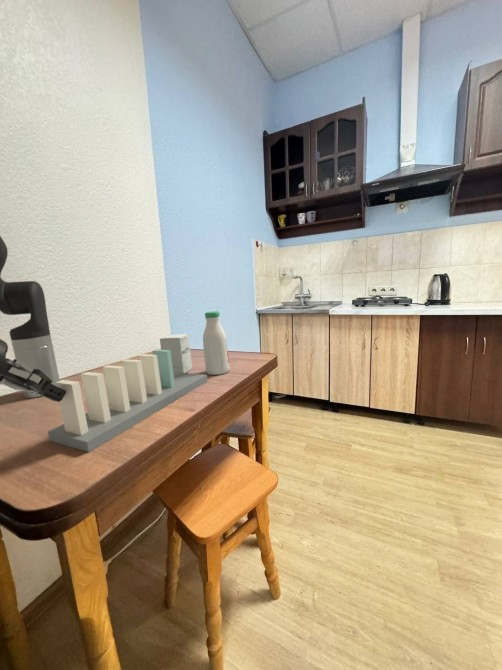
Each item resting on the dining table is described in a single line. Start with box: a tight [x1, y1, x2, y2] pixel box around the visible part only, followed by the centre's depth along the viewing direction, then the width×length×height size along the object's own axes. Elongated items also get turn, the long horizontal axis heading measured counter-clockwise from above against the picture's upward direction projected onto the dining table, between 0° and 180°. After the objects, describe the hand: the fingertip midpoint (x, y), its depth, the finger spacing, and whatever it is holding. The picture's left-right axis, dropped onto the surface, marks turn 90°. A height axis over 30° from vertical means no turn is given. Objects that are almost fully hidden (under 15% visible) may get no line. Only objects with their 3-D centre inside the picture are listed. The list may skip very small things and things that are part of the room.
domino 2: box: [80, 371, 111, 423], centre depth 57 cm, size 1×5×10 cm, turn 65°
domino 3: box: [102, 364, 130, 412], centre depth 62 cm, size 1×5×10 cm, turn 65°
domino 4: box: [121, 358, 147, 403], centre depth 66 cm, size 1×5×10 cm, turn 65°
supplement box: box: [159, 333, 193, 373], centre depth 95 cm, size 7×7×13 cm
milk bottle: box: [202, 311, 230, 376], centre depth 91 cm, size 8×8×20 cm
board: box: [47, 372, 209, 453], centre depth 69 cm, size 12×38×2 cm, turn 155°
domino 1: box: [55, 379, 88, 435], centre depth 53 cm, size 1×5×10 cm, turn 65°
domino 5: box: [137, 353, 162, 395], centre depth 71 cm, size 1×5×10 cm, turn 65°
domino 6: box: [152, 349, 175, 388], centre depth 75 cm, size 1×5×10 cm, turn 65°
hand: (61, 396), depth 51 cm, fingers closed
